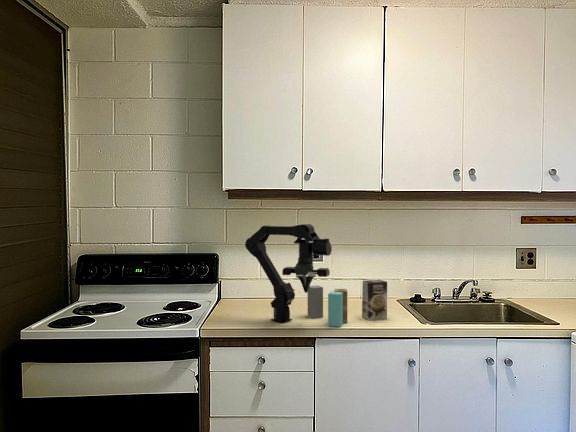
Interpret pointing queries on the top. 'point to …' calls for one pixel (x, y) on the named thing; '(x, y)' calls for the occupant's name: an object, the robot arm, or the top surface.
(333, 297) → the teal block
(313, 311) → the charcoal block
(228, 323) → the top surface
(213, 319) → the top surface
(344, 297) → the walnut block
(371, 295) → the coffee box
